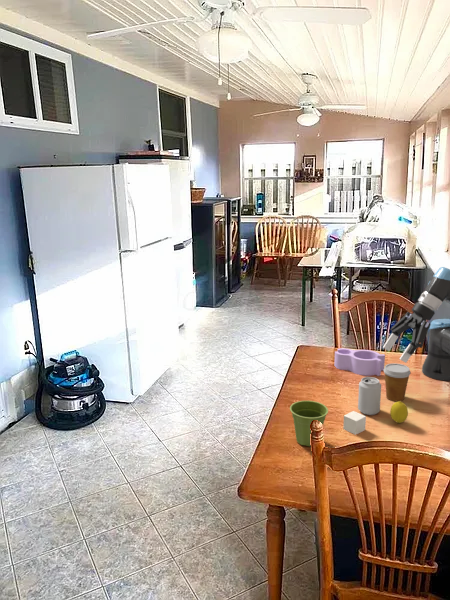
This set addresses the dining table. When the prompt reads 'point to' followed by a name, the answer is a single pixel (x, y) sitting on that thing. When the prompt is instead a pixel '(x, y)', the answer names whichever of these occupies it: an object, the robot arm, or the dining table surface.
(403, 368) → the disposable coffee cup
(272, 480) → the dining table surface
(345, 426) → the cream wooden block
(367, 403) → the can
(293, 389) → the dining table surface
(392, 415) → the lemon
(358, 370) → the clip
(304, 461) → the dining table surface
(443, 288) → the robot arm
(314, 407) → the plant pot
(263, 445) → the dining table surface
